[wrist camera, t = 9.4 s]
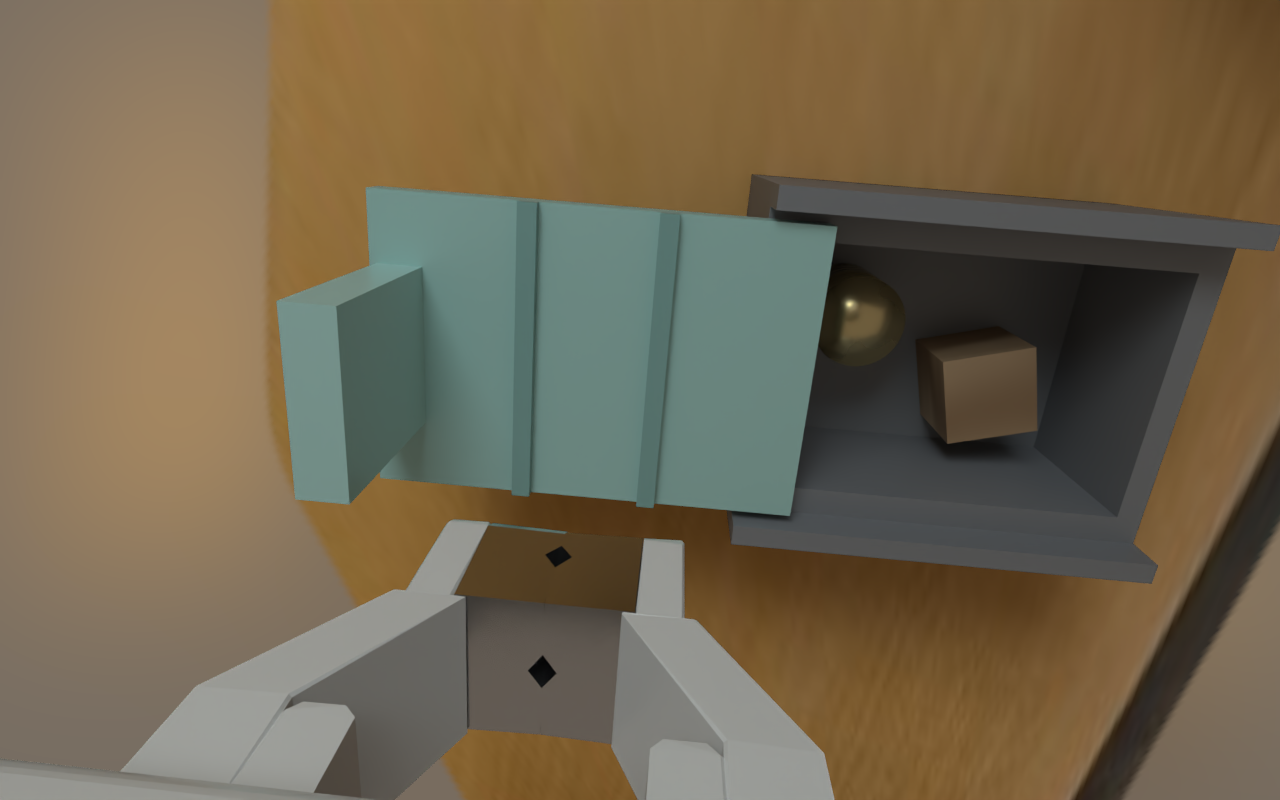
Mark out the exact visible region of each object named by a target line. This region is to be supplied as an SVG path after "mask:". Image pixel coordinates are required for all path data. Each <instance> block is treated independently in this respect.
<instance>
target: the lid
mask: <svg viewBox="0 0 1280 800" xmlns="http://www.w3.org/2000/svg"><path fill="white" fill-rule="evenodd" d="M366 201H367V221H368V241H369V261H370V266H368V267H365V268H362V269H360V270H357V271H354V272H352V273H349V274H347V275H344V276H341V277H339V278H336V279H333V280H331V281H328V282H325V283H323V284H320V285H317V286H315V287H312V288H310V289H307V290H304V291H302V292H299V293H296V294H294V295H291V296H288V297H286V298H283V299H281V300H278V301H277V311H278V321H279V332H280V342H281V353H282V363H283V374H284V384H285V395H286V405H287V416H288V427H289V437H290V448H291V458H292V469H293V479H294V490H295V499H297V500H308V501H319V502H329V503H340V504H350V503H351V502H352V501H353V500H354V499H355V498H356V497H357V496H358V495H359V494H360V493H361V491H362V490H363V489H364V488H365V487H366V486H367V485H368V484H369V483H370V482H371V481H372V480H373V479H374V477H375V476H376V475H377V474H378V473H379V472H380V478H387V479H397V480H408V481H419V482H430V483H441V484H451V485H462V486H473V487H484V488H494V489H505V490H512V495H517V496H528V497H529V495H530V493H531V492H537V493H548V494H559V495H570V496H580V497H591V498H602V499H613V500H623V501H634V502H636V507H646V508H654V503H656V504H666V505H677V506H688V507H699V508H709V509H720V510H731V511H742V512H752V513H763V514H774V515H785V516H790V513H791V507H792V501H793V495H794V488H795V482H796V476H797V470H798V464H799V458H800V452H801V446H802V440H803V434H804V428H805V421H806V415H807V409H808V403H809V397H810V391H811V385H812V379H813V373H814V367H815V361H816V355H817V348H818V342H819V336H820V330H821V324H822V318H823V312H824V306H825V300H826V294H827V288H828V282H829V275H830V269H831V263H832V257H833V251H834V245H835V239H836V233H837V226H835V225H833V224H831V223H820V222H808V221H796V220H784V219H772V218H759V217H747V216H735V215H723V214H711V213H699V212H687V211H675V210H663V209H651V208H639V207H626V206H614V205H602V204H590V203H578V202H566V201H554V200H542V199H530V198H518V197H506V196H494V195H481V194H469V193H457V192H445V191H433V190H421V189H409V188H397V187H385V186H374V187H366Z"/></svg>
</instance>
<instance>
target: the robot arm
mask: <svg viewBox="0 0 1280 800" xmlns="http://www.w3.org/2000/svg"><path fill="white" fill-rule="evenodd" d="M642 546H643V550H642ZM641 559H642V561H641ZM640 570H641V571H640ZM467 729H476V730H489V731H503V732H516V733H529V734H541V735H548V736H556V737H563V738H571V739H578V740H586V741H593V742H601V743H608V744H612V746H611V748H612V750H613V752H614V754H615V756H616V757H617V759H618V761H619V763H620V765H621V767H622V769H623V771H624V773H625V775H626V777H627V779H628V781H629V783H630V785H631V787H632V789H633V791H634V793H635V795H636V797H637V799H638V800H834V795H833V791H832V786H831V782H830V778H829V773H828V769H827V764H826V760H825V755H824V753H823V752H822V751H821V750H820V748H819V747H818V746H817V745H816V744H815V743H814V742H813V741H812V740H811V739H810V738H809V737H808V736H807V735H806V734H805V733H804V732H803V731H802V730H801V729H800V728H799V727H798V726H797V724H796V723H795V722H794V721H793V720H792V719H791V718H790V717H789V716H788V715H787V714H786V713H785V712H784V711H783V710H782V709H781V708H780V707H779V706H778V705H777V704H776V703H775V702H774V700H773V699H772V698H771V697H770V696H769V695H768V694H767V693H766V692H765V691H764V690H763V689H762V688H761V687H760V686H759V685H758V684H757V683H756V682H755V681H754V680H753V679H752V678H751V677H750V675H749V674H748V673H747V672H746V671H745V670H744V669H743V668H742V667H741V666H740V665H739V664H738V663H737V662H736V661H735V660H734V659H733V658H732V657H731V656H730V655H729V654H728V653H727V651H726V650H725V649H724V648H723V647H722V646H721V645H720V644H719V643H718V642H717V641H716V640H715V639H714V638H713V637H712V636H711V635H710V634H709V633H708V632H707V631H706V630H705V629H704V627H703V626H702V625H701V624H700V623H699V622H698V621H697V620H695V619H685V618H684V543H683V541H682V540H665V539H647V538H644V544H643V538H635V537H621V536H607V535H593V534H579V533H568V532H565V531H557V530H548V529H539V528H531V527H522V526H514V525H505V524H497V523H492V524H490V523H489V522H482V521H469V520H456V519H454V520H451V521H449V522H448V523H447V524H446V526H445V527H444V529H443V530H442V532H441V534H440V535H439V537H438V539H437V540H436V542H435V544H434V545H433V547H432V548H431V550H430V552H429V553H428V555H427V557H426V558H425V560H424V561H423V563H422V565H421V566H420V568H419V570H418V571H417V573H416V574H415V576H414V578H413V579H412V581H411V583H410V584H409V586H408V587H407V589H406V591H405V590H392V591H390V592H388V593H386V594H384V595H382V596H379V597H377V598H375V599H373V600H371V601H369V602H367V603H365V604H363V605H361V606H359V607H357V608H355V609H353V610H351V611H349V612H347V613H345V614H343V615H341V616H339V617H337V618H334V619H332V620H330V621H329V622H326V623H324V624H322V625H320V626H318V627H316V628H314V629H312V630H310V631H308V632H306V633H304V634H302V635H300V636H298V637H296V638H294V639H292V640H289V641H287V642H285V643H283V644H281V645H279V646H277V647H275V648H273V649H271V650H269V651H267V652H265V653H263V654H261V655H259V656H257V657H255V658H253V659H251V660H249V661H246V662H244V663H243V664H240V665H238V666H236V667H234V668H232V669H230V670H228V671H226V672H224V673H222V674H220V675H218V676H216V677H214V678H212V679H210V680H208V681H206V682H204V683H202V684H199V685H197V686H196V687H195V688H194V689H193V690H192V691H191V692H190V694H189V695H188V696H187V697H186V698H185V699H184V700H183V701H182V703H181V704H180V705H179V706H178V707H177V708H176V709H175V711H174V712H173V713H172V714H171V715H170V716H169V717H168V718H167V719H166V721H165V722H164V723H163V724H162V725H161V726H160V727H159V728H158V730H157V731H156V732H155V733H154V734H153V735H152V737H151V738H150V739H149V740H148V741H147V742H146V743H145V744H144V746H143V747H142V748H141V749H140V750H139V751H138V752H137V753H136V754H135V756H134V757H133V758H132V759H131V760H130V761H129V762H128V763H127V765H126V766H125V767H124V768H123V769H122V770H121V771H120V772H118V771H109V770H101V769H92V768H82V767H73V766H64V765H55V764H45V763H37V762H27V761H18V760H9V759H0V800H395V799H396V798H397V797H398V796H399V795H400V794H401V793H403V792H404V791H405V790H406V789H407V788H408V787H409V786H410V785H411V784H412V783H413V782H414V781H416V780H417V778H419V777H420V776H421V775H422V774H423V773H424V772H425V771H426V770H428V769H429V768H430V767H431V766H432V765H433V764H434V763H435V762H436V761H437V760H438V759H440V758H441V757H442V756H443V755H444V754H445V753H446V752H447V751H448V750H449V749H450V748H452V747H453V746H454V745H455V744H456V743H457V742H458V741H459V740H460V739H461V738H462V737H463V736H465V735H466V734H467Z"/></svg>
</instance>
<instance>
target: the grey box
mask: <svg viewBox="0 0 1280 800" xmlns="http://www.w3.org/2000/svg"><path fill="white" fill-rule="evenodd" d="M747 217H759V218H772V219H784V220H796V221H808V222H820V223H831V224H833V225H835V226H837V233H836V239H835V245H834V251H833V257H832V263H831V265H835V264H853V265H856V266H859V267H861V268H863V269H865V270H866V271H868V272H869V273H871V274H872V275H874V276H875V277H877V278H878V279H880V280H881V281H883V282H884V283H886V284H887V285H889V286H890V287H891V288H893V289H894V290H895V292H896V293H897V294H898V295H899V297H900V299H901V301H902V303H903V306H904V309H905V327H904V331H903V334H902V336H901V338H900V340H899V342H898V344H897V345H896V346H895V348H894V349H893V350H892V351H891V352H890V353H889V354H888V355H886V356H885V357H883V358H882V359H880V360H878V361H876V362H874V363H871V364H868V365H864V366H847V365H843V364H839V363H837V362H835V361H833V360H831V359H830V358H829V357H827V356H826V355H825V354H824V353H823V352H822V351H821V349H820V348H819V346H818V348H817V355H816V361H815V367H814V373H813V379H812V385H811V391H810V397H809V403H808V409H807V415H806V421H805V428H804V434H803V440H802V446H801V452H800V458H799V464H798V470H797V476H796V482H795V488H794V495H793V501H792V507H791V513H790V516H785V515H774V514H763V513H752V512H742V511H731V510H727V516H728V524H729V532H730V540H731V544H735V545H745V546H756V547H766V548H777V549H788V550H798V551H809V552H820V553H830V554H841V555H851V556H862V557H873V558H883V559H894V560H904V561H915V562H926V563H936V564H947V565H958V566H968V567H979V568H989V569H1000V570H1011V571H1021V572H1032V573H1043V574H1053V575H1064V576H1074V577H1085V578H1096V579H1106V580H1117V581H1128V582H1138V583H1149V584H1152V581H1153V578H1154V576H1155V573H1156V570H1157V567H1158V565H1157V564H1156V563H1155V562H1153V561H1152V560H1151V559H1150V558H1149V557H1148V556H1147V555H1145V554H1144V553H1143V552H1142V551H1141V550H1140V549H1139V548H1137V547H1136V546H1135V545H1134V544H1133V542H1134V539H1135V536H1136V533H1137V530H1138V528H1139V525H1140V522H1141V519H1142V516H1143V513H1144V510H1145V508H1146V505H1147V502H1148V499H1149V496H1150V493H1151V490H1152V488H1153V485H1154V482H1155V479H1156V476H1157V473H1158V470H1159V468H1160V465H1161V462H1162V459H1163V456H1164V453H1165V450H1166V448H1167V445H1168V442H1169V439H1170V436H1171V433H1172V430H1173V428H1174V425H1175V422H1176V419H1177V416H1178V413H1179V410H1180V408H1181V405H1182V402H1183V399H1184V396H1185V393H1186V390H1187V388H1188V385H1189V382H1190V379H1191V376H1192V373H1193V370H1194V367H1195V365H1196V362H1197V359H1198V356H1199V353H1200V350H1201V347H1202V345H1203V342H1204V339H1205V336H1206V333H1207V330H1208V327H1209V325H1210V322H1211V319H1212V316H1213V313H1214V310H1215V307H1216V305H1217V302H1218V299H1219V296H1220V293H1221V290H1222V287H1223V285H1224V282H1225V279H1226V276H1227V273H1228V270H1229V267H1230V265H1231V262H1232V259H1233V256H1234V253H1235V250H1236V248H1242V249H1254V250H1266V251H1274V249H1275V246H1276V244H1277V241H1278V238H1279V235H1280V225H1273V224H1266V223H1258V222H1250V221H1242V220H1235V219H1227V218H1219V217H1211V216H1204V215H1196V214H1188V213H1180V212H1173V211H1165V210H1157V209H1149V208H1142V207H1134V206H1126V205H1118V204H1110V203H1098V202H1085V201H1073V200H1061V199H1048V198H1036V197H1024V196H1012V195H999V194H987V193H975V192H962V191H950V190H938V189H925V188H913V187H901V186H889V185H876V184H864V183H852V182H839V181H827V180H815V179H802V178H790V177H778V176H765V175H753V174H752V178H751V186H750V194H749V202H748V210H747ZM996 326H999V327H1001V328H1003V329H1005V330H1006V331H1008V332H1010V333H1012V334H1014V335H1015V336H1017V337H1019V338H1021V339H1022V340H1024V341H1026V342H1028V343H1030V344H1031V345H1033V346H1035V347H1036V352H1037V431H1032V432H1025V433H1018V434H1011V435H1004V436H997V437H991V438H984V439H977V440H970V441H963V442H956V443H950V444H947V443H946V442H945V441H944V439H943V438H942V437H941V436H940V435H939V434H938V433H937V432H936V431H935V429H934V428H933V427H932V426H931V425H930V424H929V423H928V422H927V421H926V420H925V418H924V417H923V416H922V415H921V414H920V402H919V387H918V372H917V357H916V341H915V340H916V339H922V338H928V337H934V336H941V335H947V334H953V333H959V332H965V331H971V330H978V329H984V328H990V327H996Z"/></svg>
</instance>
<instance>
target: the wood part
mask: <svg viewBox="0 0 1280 800" xmlns="http://www.w3.org/2000/svg"><path fill="white" fill-rule="evenodd" d="M915 341H916V357H917V372H918V387H919V402H920V414H921V415H922V416H923V417H924V418H925V420H926V421H927V422H928V423H929V424H930V425H931V426H932V427H933V428H934V429H935V431H936V432H937V433H938V434H939V435H940V436H941V437H942V438H943V439H944V441H945V442H946V443H947V444H950V443H956V442H963V441H970V440H977V439H984V438H991V437H997V436H1004V435H1011V434H1018V433H1025V432H1032V431H1037V352H1036V347H1035V346H1033V345H1031V344H1030V343H1028V342H1026V341H1024V340H1022V339H1021V338H1019V337H1017V336H1015V335H1014V334H1012V333H1010V332H1008V331H1006V330H1005V329H1003V328H1001V327H999V326H996V327H990V328H984V329H978V330H971V331H965V332H959V333H953V334H947V335H941V336H934V337H928V338H922V339H916V340H915Z"/></svg>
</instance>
